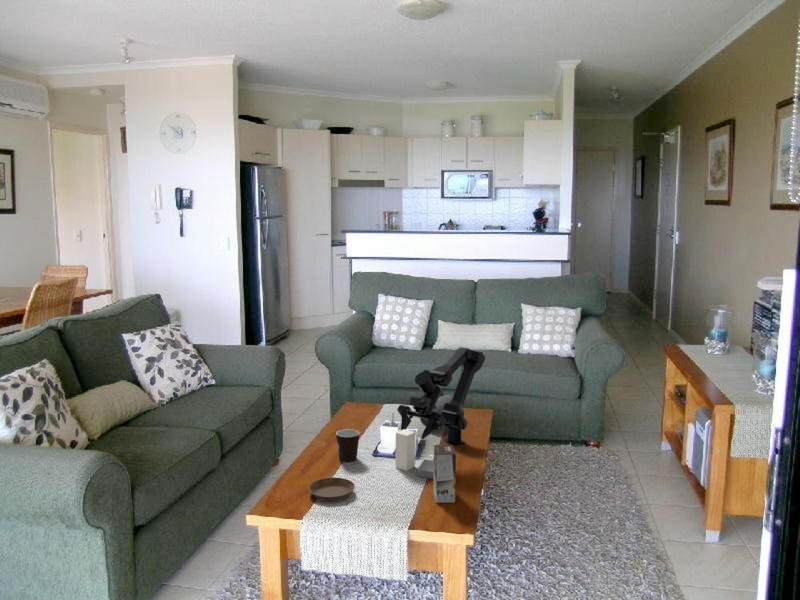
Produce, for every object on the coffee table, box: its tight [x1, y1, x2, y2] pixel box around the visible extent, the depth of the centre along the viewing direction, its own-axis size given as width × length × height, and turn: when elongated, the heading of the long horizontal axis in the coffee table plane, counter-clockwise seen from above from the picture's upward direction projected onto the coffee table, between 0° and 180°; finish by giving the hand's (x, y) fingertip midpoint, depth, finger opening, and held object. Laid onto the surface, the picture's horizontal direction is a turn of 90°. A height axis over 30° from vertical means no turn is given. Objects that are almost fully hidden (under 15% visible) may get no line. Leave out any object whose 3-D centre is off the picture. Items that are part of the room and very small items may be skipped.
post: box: [394, 429, 416, 472], centre depth 244 cm, size 5×5×13 cm
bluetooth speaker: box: [419, 394, 453, 427], centre depth 294 cm, size 23×9×10 cm, turn 155°
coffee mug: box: [335, 428, 361, 463], centre depth 253 cm, size 12×9×10 cm
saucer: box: [308, 477, 356, 502], centre depth 223 cm, size 15×15×3 cm
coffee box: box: [432, 444, 457, 504], centre depth 220 cm, size 9×6×16 cm
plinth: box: [416, 459, 434, 480], centre depth 240 cm, size 10×10×2 cm
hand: (411, 435), depth 247 cm, fingers open, 9 cm apart
